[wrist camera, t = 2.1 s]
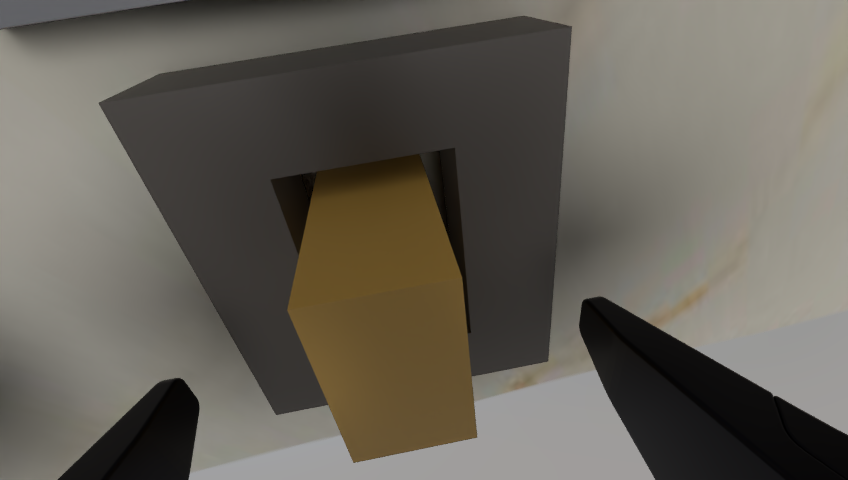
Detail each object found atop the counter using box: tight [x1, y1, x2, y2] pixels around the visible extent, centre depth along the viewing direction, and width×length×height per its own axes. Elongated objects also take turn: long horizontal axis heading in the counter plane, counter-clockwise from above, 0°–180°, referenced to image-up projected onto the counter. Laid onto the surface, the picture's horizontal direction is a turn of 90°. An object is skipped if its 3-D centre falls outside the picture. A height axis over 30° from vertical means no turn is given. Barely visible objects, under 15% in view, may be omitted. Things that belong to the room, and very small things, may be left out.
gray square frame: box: [99, 16, 572, 415], centre depth 13 cm, size 10×11×3 cm
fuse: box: [287, 154, 477, 463], centre depth 11 cm, size 3×5×7 cm, turn 8°
